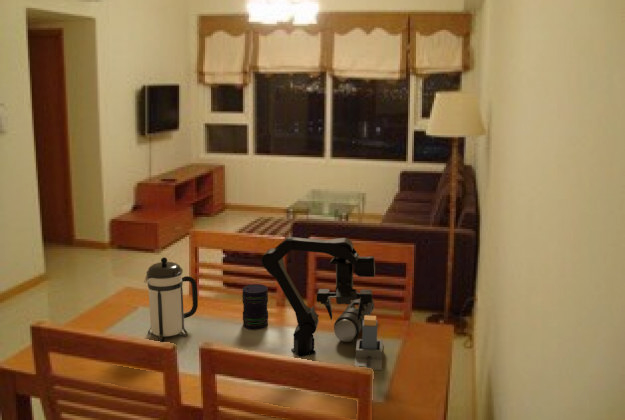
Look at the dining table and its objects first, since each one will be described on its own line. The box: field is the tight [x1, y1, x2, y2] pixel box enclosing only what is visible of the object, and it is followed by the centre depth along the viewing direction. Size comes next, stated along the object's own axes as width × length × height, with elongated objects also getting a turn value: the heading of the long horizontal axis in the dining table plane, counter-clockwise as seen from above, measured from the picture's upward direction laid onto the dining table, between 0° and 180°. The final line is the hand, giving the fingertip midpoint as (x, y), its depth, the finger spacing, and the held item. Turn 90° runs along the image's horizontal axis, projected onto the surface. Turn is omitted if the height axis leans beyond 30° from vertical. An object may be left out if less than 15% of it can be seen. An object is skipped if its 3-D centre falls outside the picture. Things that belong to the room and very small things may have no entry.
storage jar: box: [241, 283, 269, 331], centre depth 232 cm, size 10×10×15 cm
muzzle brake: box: [333, 299, 375, 343], centre depth 227 cm, size 10×28×10 cm, turn 162°
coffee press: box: [144, 257, 199, 342], centre depth 222 cm, size 17×16×30 cm
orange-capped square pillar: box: [361, 315, 378, 350], centre depth 206 cm, size 5×5×13 cm
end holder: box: [354, 338, 384, 371], centre depth 207 cm, size 9×20×4 cm, turn 173°
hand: (344, 319), depth 205 cm, fingers open, 9 cm apart
